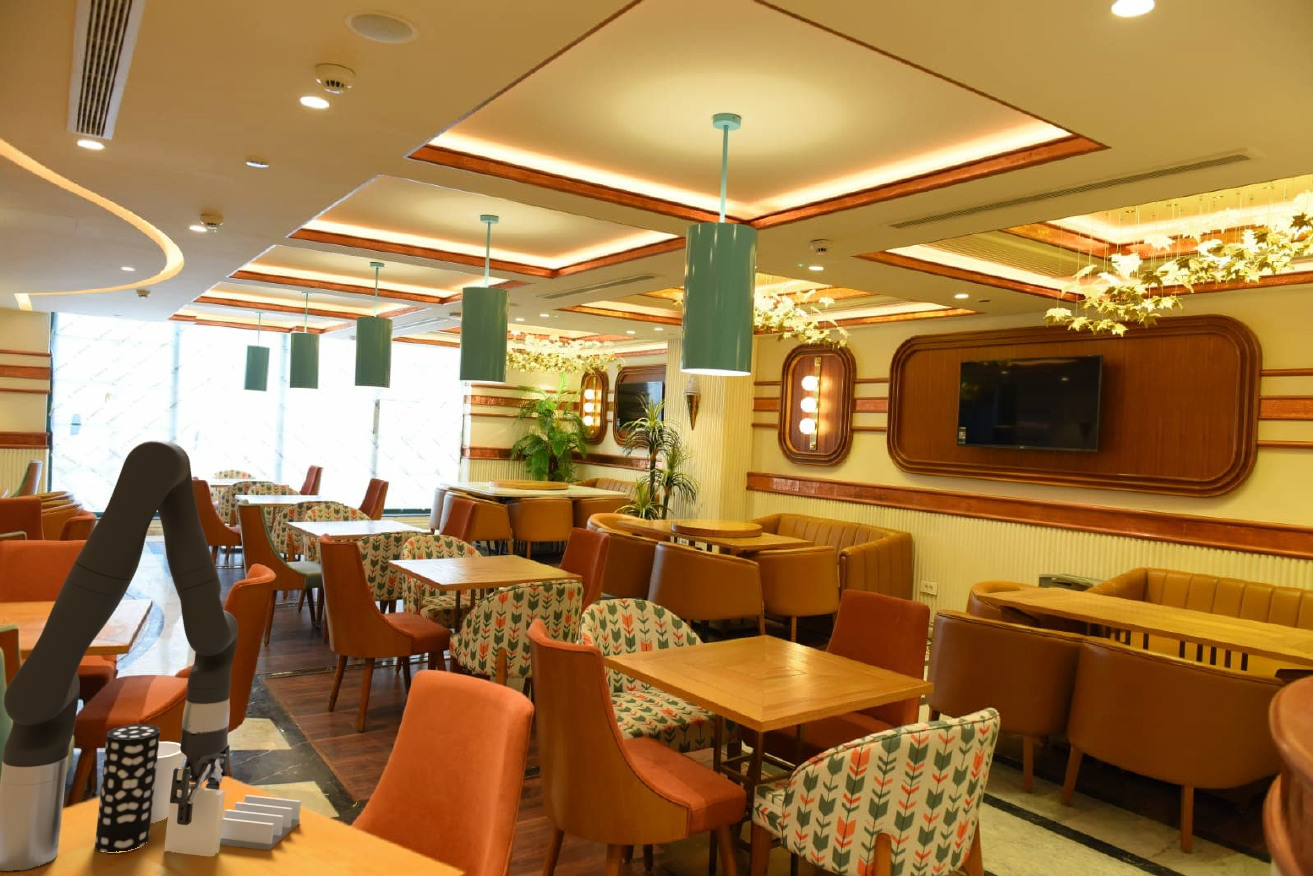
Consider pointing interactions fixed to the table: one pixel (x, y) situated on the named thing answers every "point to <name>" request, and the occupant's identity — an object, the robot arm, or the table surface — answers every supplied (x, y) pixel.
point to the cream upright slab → (197, 825)
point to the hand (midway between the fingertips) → (197, 814)
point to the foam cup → (165, 778)
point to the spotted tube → (127, 788)
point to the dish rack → (259, 822)
